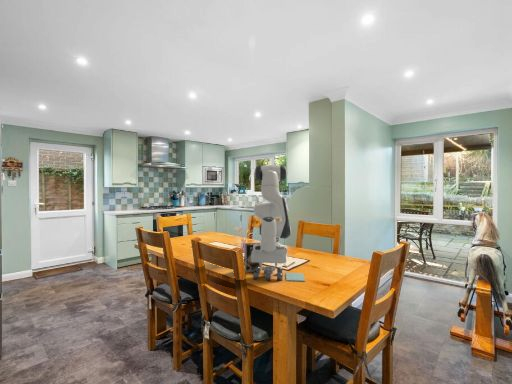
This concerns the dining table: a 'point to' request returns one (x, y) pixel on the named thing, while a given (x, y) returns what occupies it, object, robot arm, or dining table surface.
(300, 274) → the board
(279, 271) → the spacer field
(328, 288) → the dining table surface
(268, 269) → the grey hexagonal block
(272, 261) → the robot arm
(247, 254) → the coffee box
